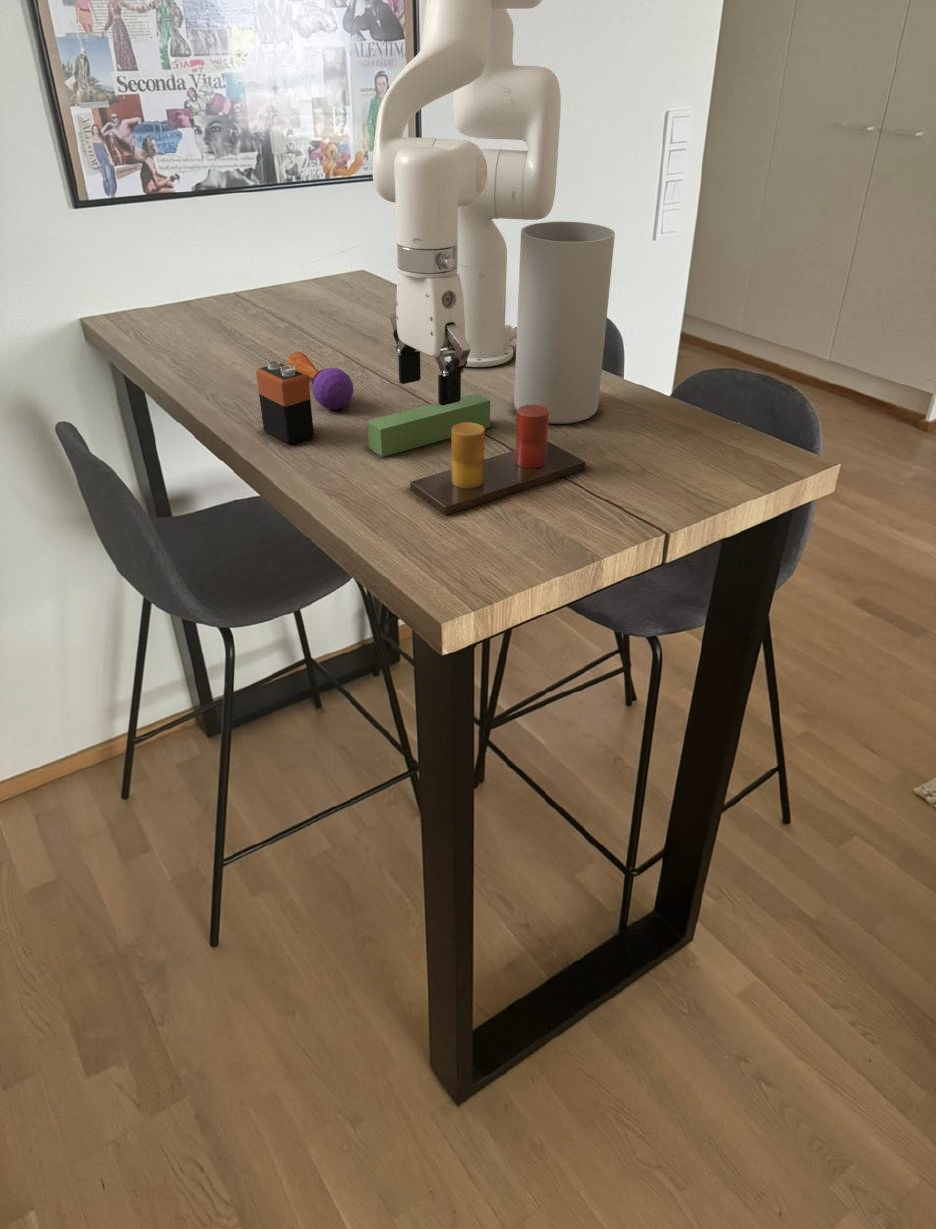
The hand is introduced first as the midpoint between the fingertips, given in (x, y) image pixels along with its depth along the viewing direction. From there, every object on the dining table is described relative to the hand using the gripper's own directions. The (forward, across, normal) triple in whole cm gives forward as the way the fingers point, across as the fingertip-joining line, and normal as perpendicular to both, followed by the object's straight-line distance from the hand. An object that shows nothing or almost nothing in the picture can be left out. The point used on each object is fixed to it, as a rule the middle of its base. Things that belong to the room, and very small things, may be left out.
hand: (429, 392), depth 121 cm
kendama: (+7, +24, +4) cm, 26 cm away
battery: (+7, +12, +16) cm, 21 cm away
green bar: (+7, 0, 0) cm, 7 cm away
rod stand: (+7, -16, 0) cm, 17 cm away
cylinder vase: (+7, -2, -22) cm, 23 cm away
